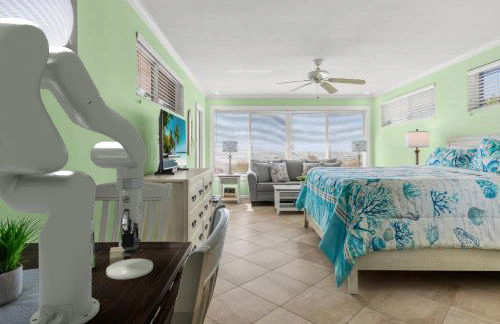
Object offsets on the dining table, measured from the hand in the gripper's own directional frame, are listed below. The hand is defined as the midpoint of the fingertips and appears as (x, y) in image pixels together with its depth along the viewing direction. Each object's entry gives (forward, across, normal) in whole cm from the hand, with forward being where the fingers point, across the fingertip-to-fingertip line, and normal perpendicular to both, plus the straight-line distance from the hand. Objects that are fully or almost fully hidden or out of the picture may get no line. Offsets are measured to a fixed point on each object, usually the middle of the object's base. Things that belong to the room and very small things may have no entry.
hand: (130, 242), depth 88 cm
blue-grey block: (+9, +17, +5) cm, 19 cm away
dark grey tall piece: (+3, 0, 0) cm, 3 cm away
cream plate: (+8, 0, 0) cm, 8 cm away
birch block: (+8, +9, +6) cm, 14 cm away
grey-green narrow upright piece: (+9, +3, +15) cm, 18 cm away
